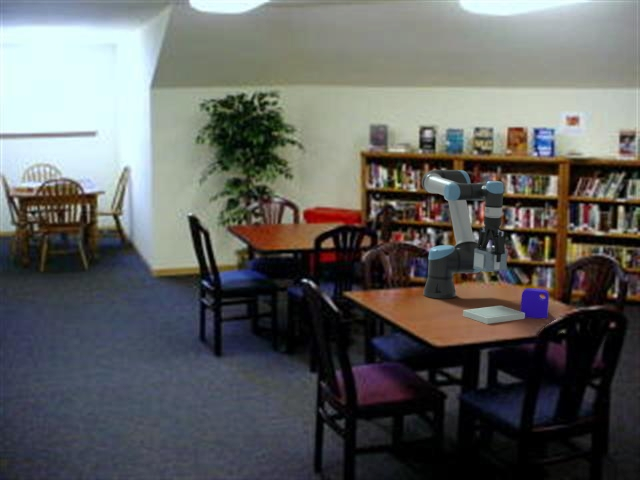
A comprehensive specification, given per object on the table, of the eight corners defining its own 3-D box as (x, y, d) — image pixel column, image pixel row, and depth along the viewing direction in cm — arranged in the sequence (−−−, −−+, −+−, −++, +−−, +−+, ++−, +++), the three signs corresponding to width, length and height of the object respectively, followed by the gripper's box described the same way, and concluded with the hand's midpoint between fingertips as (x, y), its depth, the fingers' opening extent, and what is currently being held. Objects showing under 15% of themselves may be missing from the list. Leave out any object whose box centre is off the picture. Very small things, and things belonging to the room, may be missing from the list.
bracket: (546, 319, 359) (548, 292, 358) (520, 316, 363) (522, 289, 361) (550, 310, 376) (552, 284, 374) (525, 308, 380) (526, 282, 378)
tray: (462, 315, 361) (463, 309, 361) (500, 311, 372) (500, 305, 371) (486, 323, 348) (487, 317, 348) (524, 318, 359) (525, 312, 359)
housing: (472, 268, 377) (473, 246, 375) (493, 266, 384) (495, 244, 382) (484, 272, 370) (485, 249, 369) (506, 269, 377) (507, 247, 375)
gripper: (470, 213, 380) (467, 263, 384) (502, 220, 362) (499, 272, 366) (483, 213, 384) (480, 262, 388) (516, 219, 366) (512, 271, 370)
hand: (489, 267), depth 377 cm, fingers closed on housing, 8 cm apart
